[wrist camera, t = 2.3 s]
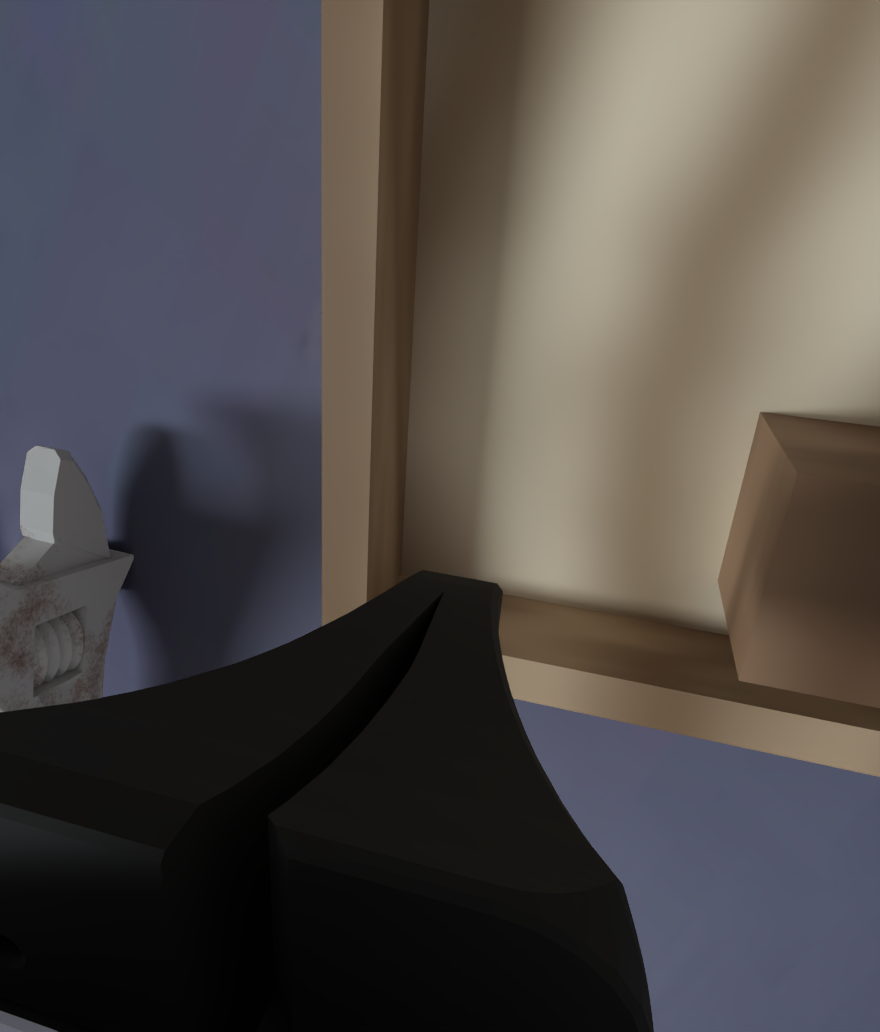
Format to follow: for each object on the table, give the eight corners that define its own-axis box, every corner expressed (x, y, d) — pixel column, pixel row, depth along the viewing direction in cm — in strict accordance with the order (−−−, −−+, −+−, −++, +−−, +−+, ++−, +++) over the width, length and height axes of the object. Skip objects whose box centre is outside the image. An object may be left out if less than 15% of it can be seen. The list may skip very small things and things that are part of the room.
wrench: (168, 923, 38) (62, 381, 22) (199, 934, 37) (114, 391, 22) (60, 1100, 31) (-200, 499, 16) (97, 1116, 31) (-131, 517, 15)
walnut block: (974, 438, 16) (1088, 512, 12) (907, 612, 18) (986, 729, 14) (759, 411, 17) (797, 472, 13) (717, 580, 19) (739, 680, 15)
